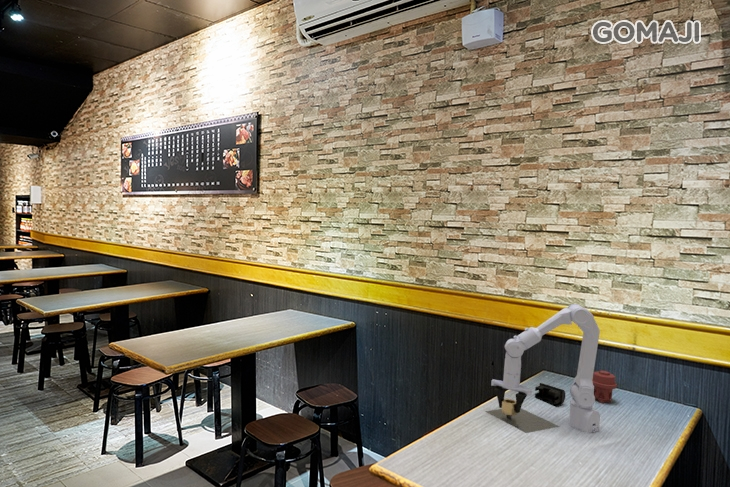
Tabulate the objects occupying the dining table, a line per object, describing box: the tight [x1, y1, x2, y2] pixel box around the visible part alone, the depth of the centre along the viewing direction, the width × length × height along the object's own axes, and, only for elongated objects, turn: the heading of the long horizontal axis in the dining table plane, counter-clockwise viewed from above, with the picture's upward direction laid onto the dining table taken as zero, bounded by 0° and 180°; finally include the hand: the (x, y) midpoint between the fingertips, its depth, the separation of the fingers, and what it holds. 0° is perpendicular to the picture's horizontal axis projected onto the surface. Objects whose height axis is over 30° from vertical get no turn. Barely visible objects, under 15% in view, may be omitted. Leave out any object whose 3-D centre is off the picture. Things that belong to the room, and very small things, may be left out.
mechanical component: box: [592, 370, 618, 404], centre depth 204 cm, size 12×10×10 cm
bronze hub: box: [501, 398, 517, 415], centre depth 175 cm, size 5×5×4 cm
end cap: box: [534, 382, 566, 408], centre depth 198 cm, size 10×7×7 cm
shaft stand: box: [485, 407, 560, 434], centre depth 174 cm, size 20×16×6 cm
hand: (509, 409), depth 175 cm, fingers closed on bronze hub, 6 cm apart
